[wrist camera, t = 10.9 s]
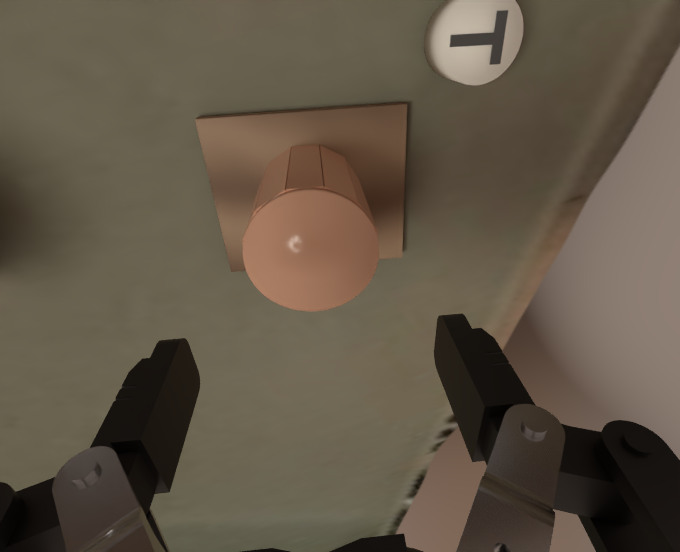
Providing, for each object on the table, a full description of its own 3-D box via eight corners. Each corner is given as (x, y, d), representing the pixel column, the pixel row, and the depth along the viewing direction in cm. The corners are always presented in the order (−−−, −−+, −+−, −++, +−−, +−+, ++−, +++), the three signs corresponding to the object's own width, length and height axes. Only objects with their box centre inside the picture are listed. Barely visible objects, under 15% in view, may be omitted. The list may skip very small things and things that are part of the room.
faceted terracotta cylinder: (252, 149, 23) (229, 197, 16) (357, 141, 23) (379, 185, 16) (268, 243, 26) (255, 316, 19) (360, 235, 26) (379, 305, 19)
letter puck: (426, -4, 20) (445, -11, 17) (501, -8, 20) (532, -16, 18) (421, 81, 22) (437, 88, 19) (489, 77, 22) (515, 83, 20)
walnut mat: (198, 116, 22) (194, 119, 22) (404, 102, 23) (407, 104, 22) (233, 265, 28) (231, 271, 27) (399, 251, 28) (402, 257, 27)
